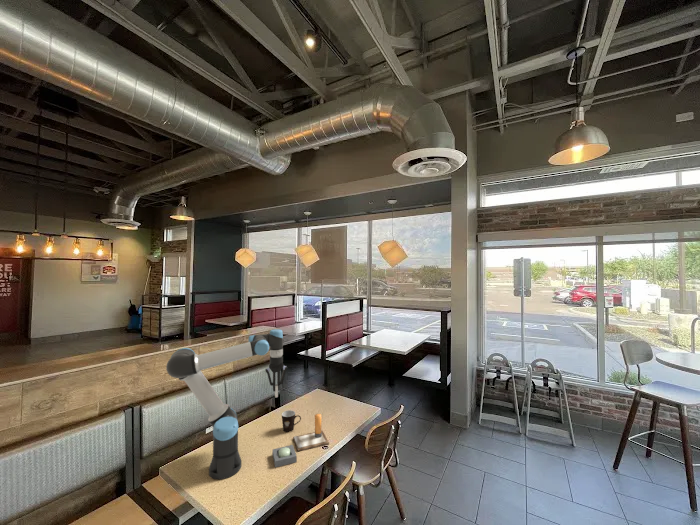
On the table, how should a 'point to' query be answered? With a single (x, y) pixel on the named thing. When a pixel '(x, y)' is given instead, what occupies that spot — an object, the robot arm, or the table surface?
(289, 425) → the coffee mug
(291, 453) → the button housing
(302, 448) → the board
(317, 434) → the marker
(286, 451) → the button
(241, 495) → the table surface
